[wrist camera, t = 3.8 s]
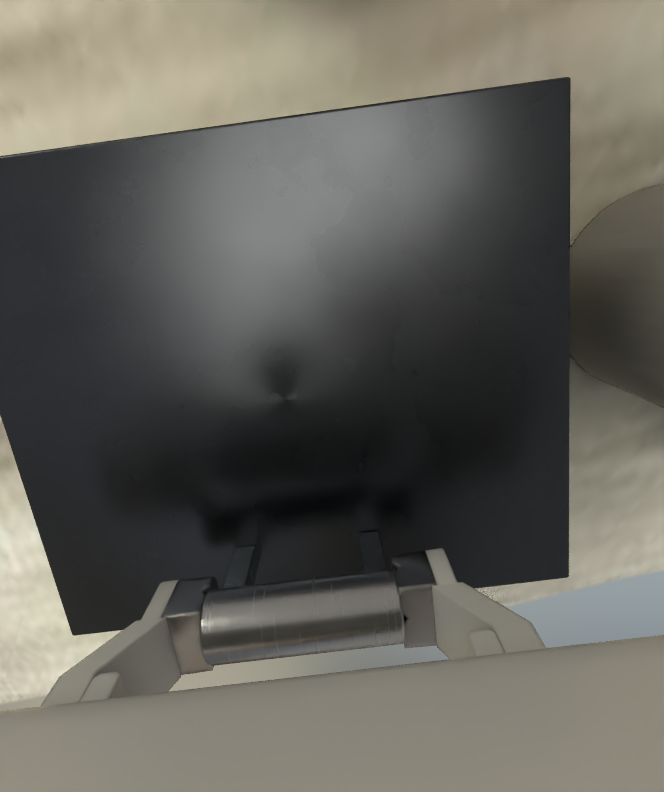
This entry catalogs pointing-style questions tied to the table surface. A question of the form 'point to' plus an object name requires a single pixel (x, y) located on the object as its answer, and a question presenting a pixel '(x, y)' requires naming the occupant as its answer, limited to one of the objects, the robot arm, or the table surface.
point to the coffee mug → (621, 295)
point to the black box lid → (294, 362)
